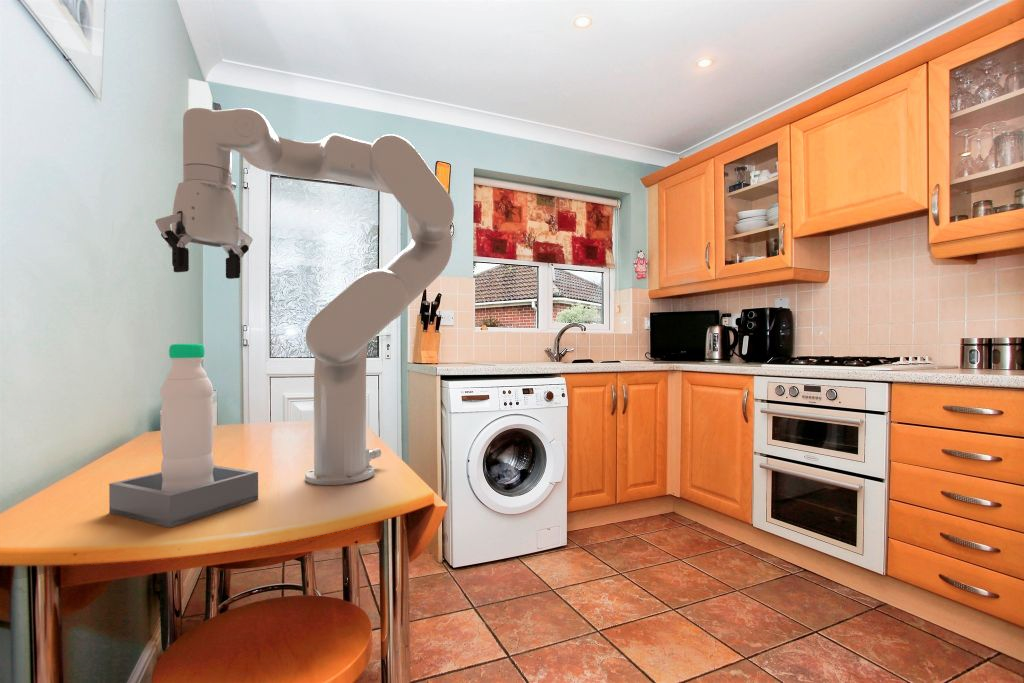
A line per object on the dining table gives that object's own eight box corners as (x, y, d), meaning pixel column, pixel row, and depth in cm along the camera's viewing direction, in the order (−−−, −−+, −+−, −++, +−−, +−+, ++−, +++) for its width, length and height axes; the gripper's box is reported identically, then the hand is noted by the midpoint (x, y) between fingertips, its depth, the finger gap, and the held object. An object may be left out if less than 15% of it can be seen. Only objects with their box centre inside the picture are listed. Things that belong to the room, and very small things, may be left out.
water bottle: (223, 497, 81) (222, 343, 81) (176, 510, 75) (174, 343, 75) (199, 491, 84) (197, 343, 84) (152, 503, 78) (150, 343, 78)
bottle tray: (200, 488, 89) (199, 463, 89) (258, 499, 83) (258, 472, 83) (109, 512, 76) (109, 483, 76) (169, 527, 70) (169, 495, 70)
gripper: (237, 196, 100) (237, 281, 100) (143, 169, 85) (144, 270, 85) (263, 191, 97) (263, 279, 97) (171, 162, 82) (171, 267, 82)
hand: (208, 275), depth 91 cm, fingers open, 9 cm apart
